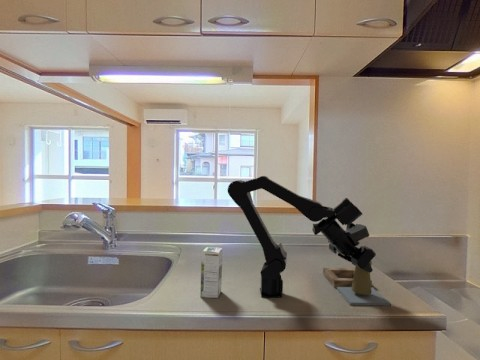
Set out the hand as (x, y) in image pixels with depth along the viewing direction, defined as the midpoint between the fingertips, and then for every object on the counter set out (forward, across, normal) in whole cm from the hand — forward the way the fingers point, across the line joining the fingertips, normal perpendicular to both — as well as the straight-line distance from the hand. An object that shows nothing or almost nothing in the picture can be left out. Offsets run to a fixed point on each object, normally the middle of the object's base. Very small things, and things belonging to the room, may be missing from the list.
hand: (366, 268), depth 97 cm
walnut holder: (+7, +14, +6) cm, 17 cm away
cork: (+4, 0, +6) cm, 7 cm away
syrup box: (-27, +8, +41) cm, 50 cm away
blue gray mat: (+6, 0, +7) cm, 9 cm away
